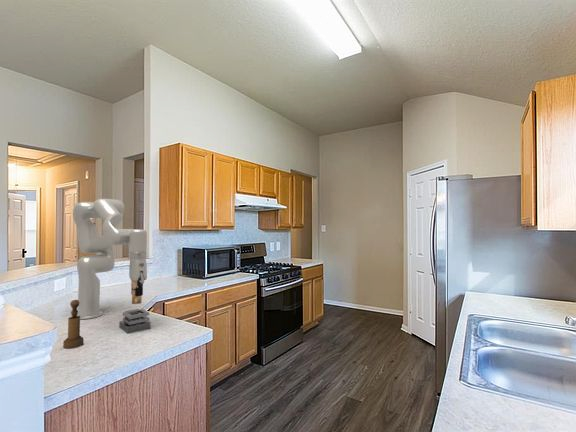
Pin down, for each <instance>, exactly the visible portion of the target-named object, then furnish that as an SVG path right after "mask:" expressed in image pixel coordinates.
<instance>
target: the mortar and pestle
mask: <svg viewBox="0 0 576 432" xmlns="http://www.w3.org/2000/svg"><path fill="white" fill-rule="evenodd" d="M69 306H70V307H71V310H72V311H70V313H71V316H70V317H68V318H67V321H68V322H67V338H65V339H64V340H63V346H62V347H63V349H75V348H79V347H81V346H83V345H84V337H83V336H81V335H80V334H81V329H80V328H81V319H80V316H77V313H78V306H79V301H78V299H73V300H71V301H70V305H69Z"/></svg>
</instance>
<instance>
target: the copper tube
mask: <svg viewBox="0 0 576 432" xmlns="http://www.w3.org/2000/svg"><path fill="white" fill-rule="evenodd" d="M139 280H140V279H138V281H139ZM138 283H139V282H138ZM135 288H136V281H135V280H132V295H131V304H132V305H137V304H138V305H139V304H141V303H142V298H143V297H142V296H143V295H142V296H137V297H136V296H135Z"/></svg>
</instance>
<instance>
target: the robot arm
mask: <svg viewBox="0 0 576 432" xmlns="http://www.w3.org/2000/svg"><path fill="white" fill-rule="evenodd" d="M125 209H126V207H125V204H124V202H123V201H121V200H120V199H115V198H114V199H112V198H99V199H96V200H95V201H93V202H92V201H80V202H78V203H76V204H75V205H74V206H73V209H72V217H73V221H74V224H75V227H76V230H77V231H76V232H77V241H78V243H77V245H78V249H79V251H80V252H81V253H83V254H95V255H84V256H82V257H80V258H78V260H77V262H76V269H77V274H78V275H77V276H78V289H77V290H78V291H77V292H78V293H77V294H78V297H77V298H78V299H77V300H78V301H79V306H78V307H77V311H78V313H77V316H80V320H89V319H94V318H95V319H96V318H99V317H101V316H102V315H103V314H104V313H103V311H101V310H100V300H101V299H100V298H101V297H100V295H101V294H100V292H101V281H100V278H99V277H98V276H97V275H96V274H98V273H99V274H100V273H107V272H111V271H112V270H113V269H114V267H115V252H114V246H120V245H121V246H122V245H123V246H125V245H127V246H128V260H129V269H128V270H129V272H128V273H129V274H128V277H129V279H130V281H131V282H130V283H131V284H130V285H131V287H130V289H131V290H130V291H131V293H130V294H131V296H132V280H135V281H136V288H135V296H136V297H137V296H143V295H144V294H143V293H144V283H145V281H147V279H148V268H147V267H148V266H147V265H148V264H147V255H148V254H147V253H148V252H147V248H148V247H147V243H148V239H147V238H148V232H147V230H146V229H142V228H141V229H137V228H136V229H135V228H115V227H116V226H118V225H120V224H121V222H122V221H123V214H124V213H125ZM91 219H100V220H101V221H102V222H103V223H102V226H101V230H102V231H101V232H102V235H101V234H99V235H98V233H97V228H96V225H95V223H94V222H93V220H91ZM97 253H98V254H97ZM99 253H100V254H99ZM138 279H140V280H139V281H138ZM138 282H139V283H138Z"/></svg>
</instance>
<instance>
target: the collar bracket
mask: <svg viewBox="0 0 576 432" xmlns="http://www.w3.org/2000/svg"><path fill="white" fill-rule="evenodd" d="M122 316H123V317H122V320H119V324H118V325H119V327H118V328H119V329H120V330H122V331H123V332H124V333H126V334H127V335H128V334H132V333H137V332H141V331H146V330H151V321H150V317H149V316H150V312H149V311H146V310H145V309H143V308H141V309H139V308H135V309H131V310H126V311H124V312H122Z"/></svg>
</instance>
